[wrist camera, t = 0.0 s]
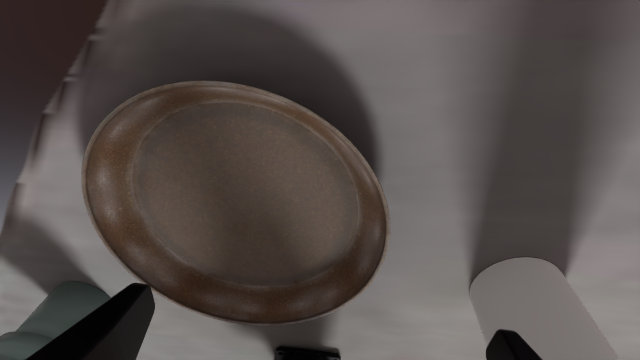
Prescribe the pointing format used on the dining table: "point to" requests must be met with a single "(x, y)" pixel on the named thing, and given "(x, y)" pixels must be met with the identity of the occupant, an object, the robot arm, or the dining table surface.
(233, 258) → the plant saucer
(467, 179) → the dining table surface
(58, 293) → the glazed flower pot
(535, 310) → the cylindrical container
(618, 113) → the dining table surface
